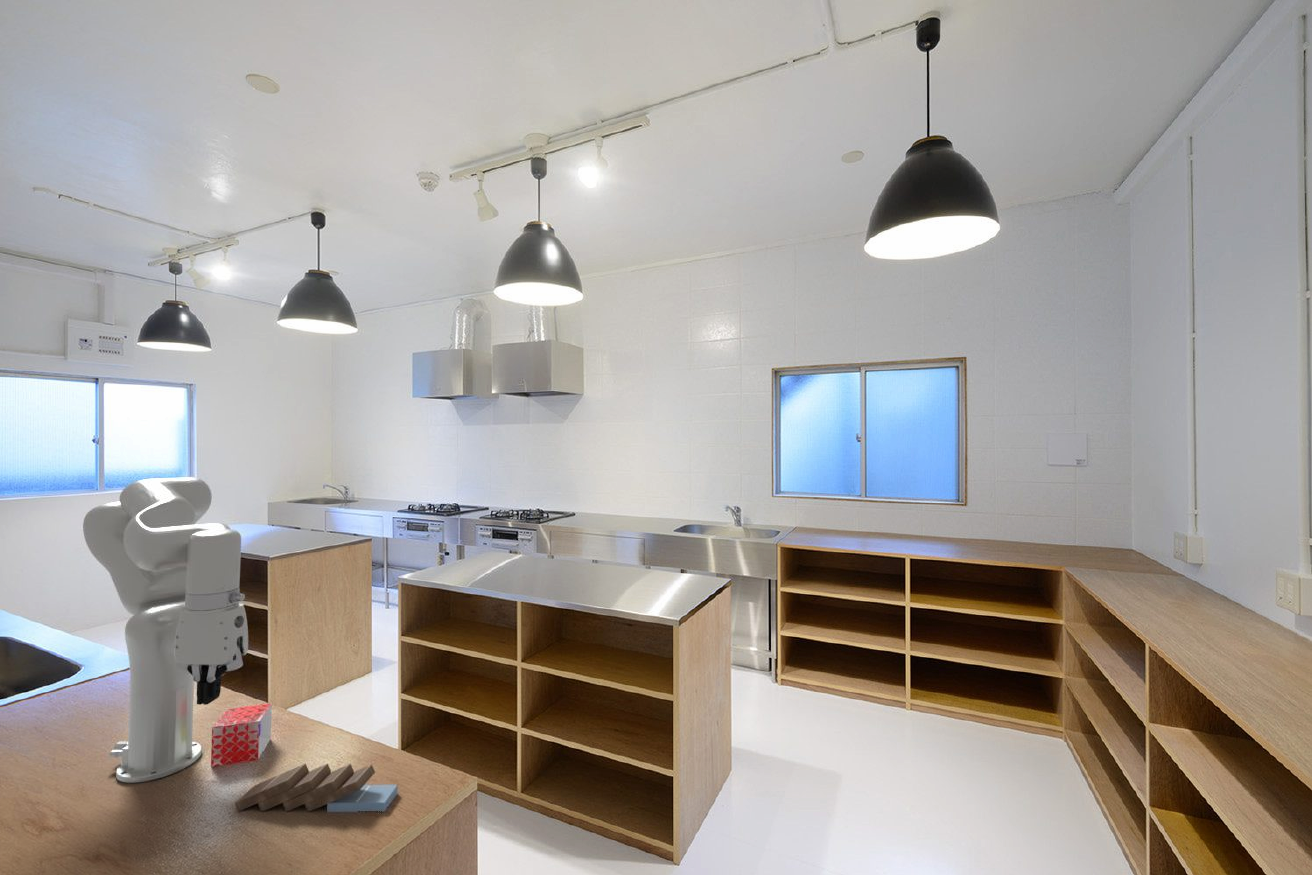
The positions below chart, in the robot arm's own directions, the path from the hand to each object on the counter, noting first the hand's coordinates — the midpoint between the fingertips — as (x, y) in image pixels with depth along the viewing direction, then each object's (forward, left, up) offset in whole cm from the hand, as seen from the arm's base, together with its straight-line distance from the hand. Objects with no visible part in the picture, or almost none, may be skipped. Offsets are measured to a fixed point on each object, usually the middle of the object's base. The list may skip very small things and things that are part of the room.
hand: (208, 700), depth 97 cm
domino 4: (+20, -1, -17) cm, 26 cm away
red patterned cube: (-4, +16, -18) cm, 24 cm away
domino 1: (+7, 0, -17) cm, 19 cm away
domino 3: (+16, 0, -17) cm, 23 cm away
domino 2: (+11, 0, -17) cm, 21 cm away
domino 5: (+23, -1, -17) cm, 29 cm away
